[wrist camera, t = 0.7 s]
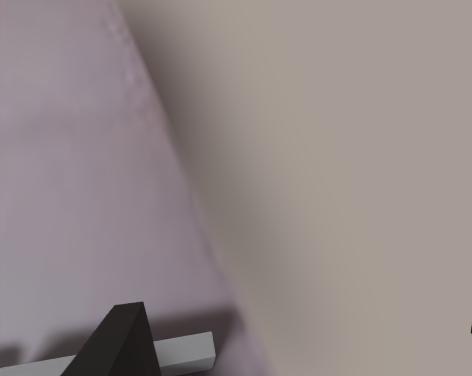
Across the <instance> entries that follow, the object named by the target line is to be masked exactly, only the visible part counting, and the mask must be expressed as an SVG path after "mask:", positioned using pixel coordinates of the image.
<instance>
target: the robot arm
mask: <svg viewBox="0 0 472 376" xmlns="http://www.w3.org/2000/svg"><path fill="white" fill-rule="evenodd" d="M471 333H472V327H471ZM60 376H161V370H160V366H159V362H158V358H157V354H156V350H155V346H154V342H153V338H152V334H151V331H150V327H149V323H148V319H147V315H146V311H145V307H144V303H143V302H136V303H128V304H121V305H114V307H113V308H112V309H111V310H110V312H109V313H108V314H107V315H106V317H105V318H104V319H103V321H102V322H101V323H100V325H99V326H98V327H97V329H96V330H95V331H94V332H93V334H92V335H91V336H90V338H89V339H88V340H87V342H86V343H85V344H84V346H83V347H82V348H81V350H80V351H79V352H78V354H77V355H76V356H75V357H74V359H73V360H72V361H71V362H70V364H69V365H68V366H67V367H66V369H65V370H64V371H63V372H62V374H61V375H60Z"/></svg>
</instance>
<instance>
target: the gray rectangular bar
mask: <svg viewBox="0 0 472 376" xmlns="http://www.w3.org/2000/svg"><path fill="white" fill-rule="evenodd" d="M153 342H154V346H155V350H156V354H157V358H158V362H159V366H160V370H161V376H178V375H184V374H189V373H194V372H200V371H205V370H210V369H212V368H213V365H214V361H215V357H216V355H215V349H214V343H213V337H212V331H211V332H205V333H200V334H194V335H188V336H182V337H176V338H171V339H165V340H159V341H153ZM75 356H76V355H73V356H67V357H61V358H55V359H50V360H44V361H38V362H32V363H26V364H21V365H15V366H9V367H3V368H0V376H60V375H61V374H62V372H63V371H64V370H65V369H66V367H67V366H68V365H69V364H70V362H71V361H72V360H73V359H74V357H75Z"/></svg>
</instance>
